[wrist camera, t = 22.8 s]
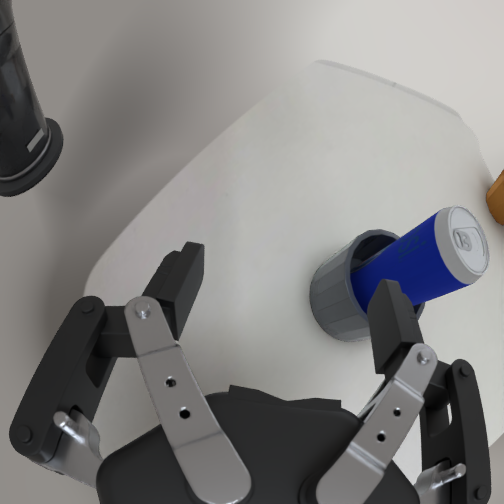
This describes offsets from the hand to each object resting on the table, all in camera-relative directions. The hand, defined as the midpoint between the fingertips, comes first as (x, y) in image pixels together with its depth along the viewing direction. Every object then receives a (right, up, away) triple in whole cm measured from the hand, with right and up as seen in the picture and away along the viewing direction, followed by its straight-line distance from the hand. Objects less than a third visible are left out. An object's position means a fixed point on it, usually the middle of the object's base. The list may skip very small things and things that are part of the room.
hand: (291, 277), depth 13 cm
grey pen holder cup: (+8, -4, +16) cm, 18 cm away
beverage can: (+8, -3, +15) cm, 18 cm away
